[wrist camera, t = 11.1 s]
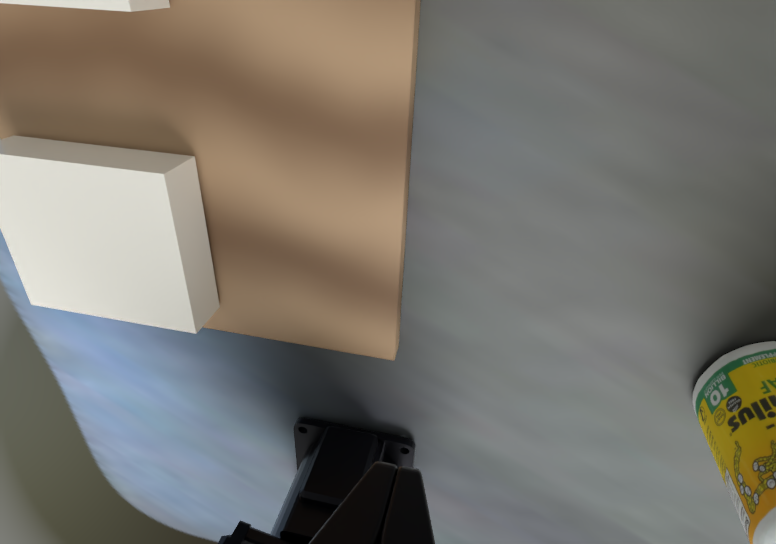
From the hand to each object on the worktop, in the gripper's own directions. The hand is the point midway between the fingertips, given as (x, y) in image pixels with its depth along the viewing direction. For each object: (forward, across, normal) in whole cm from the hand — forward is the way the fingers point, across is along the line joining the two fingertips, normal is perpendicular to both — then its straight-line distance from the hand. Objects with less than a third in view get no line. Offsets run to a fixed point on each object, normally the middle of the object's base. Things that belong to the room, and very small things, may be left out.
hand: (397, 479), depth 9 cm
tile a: (+10, +10, +2) cm, 14 cm away
